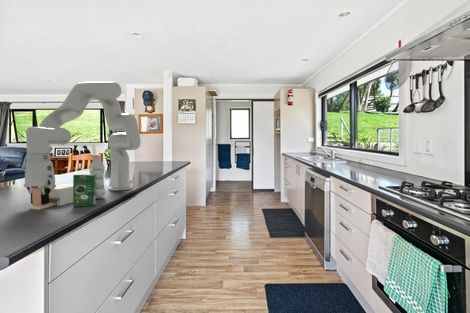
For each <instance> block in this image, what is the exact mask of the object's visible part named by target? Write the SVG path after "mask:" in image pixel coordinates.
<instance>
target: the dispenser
mask: <svg viewBox="0 0 470 313" xmlns="http://www.w3.org/2000/svg"><path fill="white" fill-rule="evenodd" d="M55 185H56V187H55V188H54V189H52V190H51V192H50V193H49V201H57V205H56V206H59V207H60V206H64V205H67V204H73V183H71V182H70V183H69V182H68V183H66V182H65V183H60V184H55Z"/></svg>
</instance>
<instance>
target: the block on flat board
mask: <svg viewBox="0 0 470 313" xmlns="http://www.w3.org/2000/svg"><path fill="white" fill-rule="evenodd" d="M45 190H46V188H45ZM41 195H42V190H41V187H38V188H32V201H33V204H31V205H29V209H30V210H43V209H48V208H51V207H54V206H57V201H49V203H48V204H44V205H42V204H41Z"/></svg>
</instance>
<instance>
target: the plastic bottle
mask: <svg viewBox="0 0 470 313" xmlns="http://www.w3.org/2000/svg"><path fill="white" fill-rule="evenodd" d="M91 160H92V161H91V163H90V165H89V168H88V169H89V175H95V200H99V199H104V198H105V195H106V189H105V184H104V183H105V182H104V178H105V176H104V175H105V167H106V166H105V165H104V163H103V162H102V161H101V160H102V156H101V155H92V157H91Z"/></svg>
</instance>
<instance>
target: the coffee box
mask: <svg viewBox="0 0 470 313" xmlns="http://www.w3.org/2000/svg"><path fill="white" fill-rule="evenodd" d="M72 179H73V181H72V182H73V183H72V184H73V202H72V204H73V206H72V207H74V208H76V207H78V208H79V207H94V206H96V199H95V175H90V174H73V178H72Z"/></svg>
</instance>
